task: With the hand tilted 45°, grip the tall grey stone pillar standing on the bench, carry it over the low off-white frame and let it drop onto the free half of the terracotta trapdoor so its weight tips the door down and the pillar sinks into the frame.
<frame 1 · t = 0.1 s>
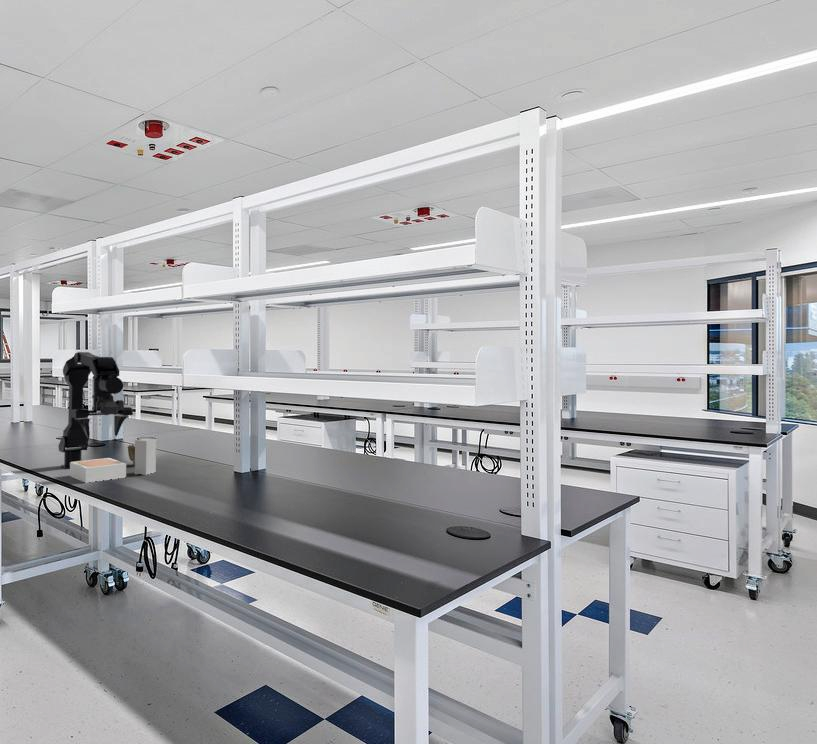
hand: (102, 436, 201), 15 cm above the table, tool pointing down, fingers open, 9 cm apart
trapdoor: (98, 468, 204), point 3 cm above the table, hinge at 0.0°
cup: (137, 465, 226), on the table
trapdoor frame: (97, 476, 204), on the table
stone pillar: (145, 473, 211), on the table
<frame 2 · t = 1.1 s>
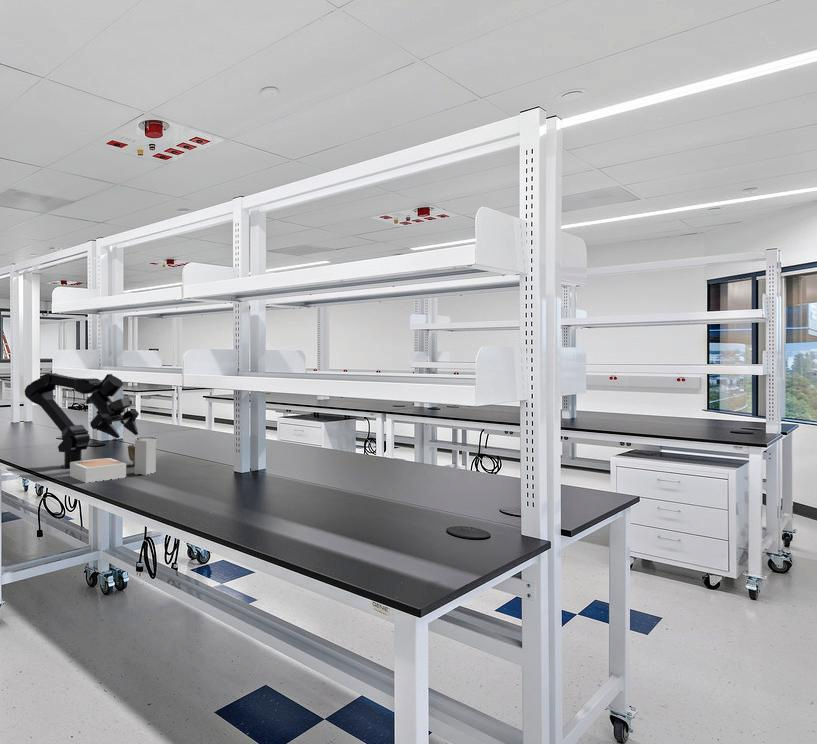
hand: (128, 435, 213), 13 cm above the table, tool tilted 45°, fingers open, 9 cm apart
nothing on the table moved.
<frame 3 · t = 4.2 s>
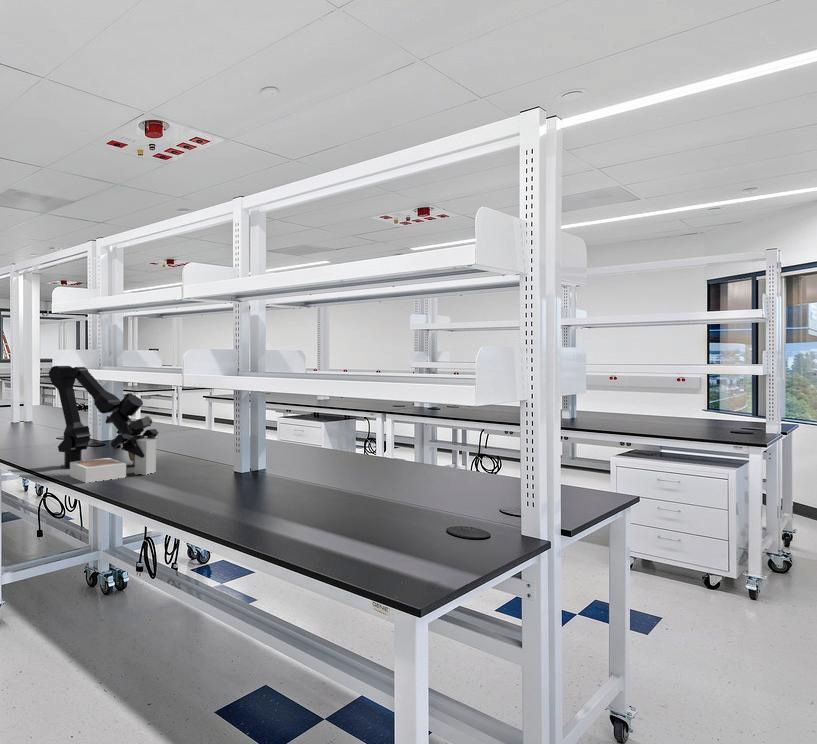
hand: (148, 455, 211), 7 cm above the table, tool tilted 45°, fingers closed on stone pillar, 5 cm apart
stone pillar: (145, 473, 211), on the table, touching gripper
everything else where it was.
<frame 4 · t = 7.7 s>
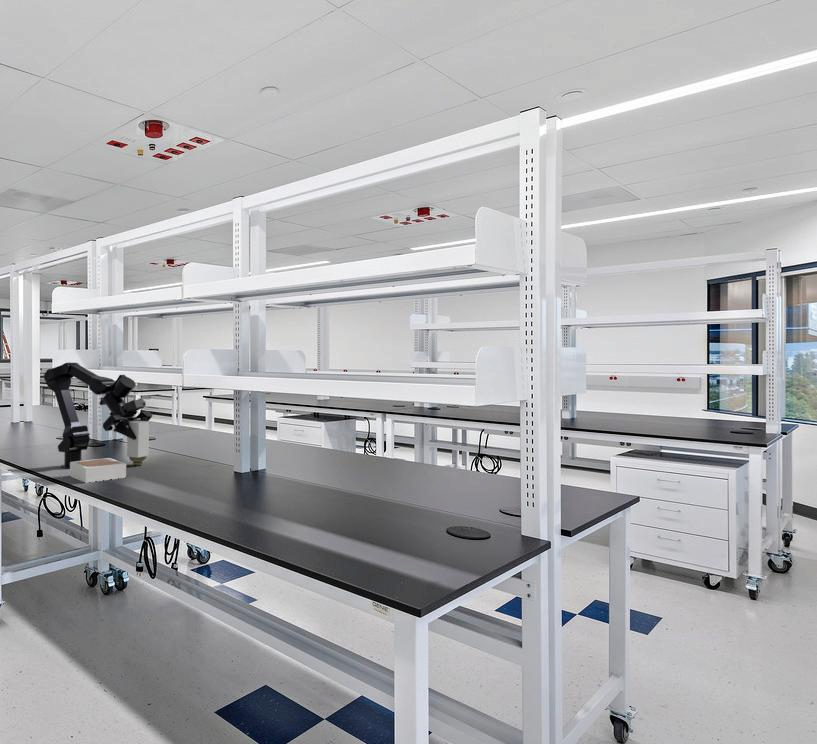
hand: (141, 438, 208), 13 cm above the table, tool tilted 45°, fingers closed on stone pillar, 5 cm apart
stone pillar: (137, 455, 209), point 7 cm above the table, touching gripper
everything else where it was.
when the fingers open (13 cm above the table, at t = 11.0 s): stone pillar drops 2 cm, resting on trapdoor.
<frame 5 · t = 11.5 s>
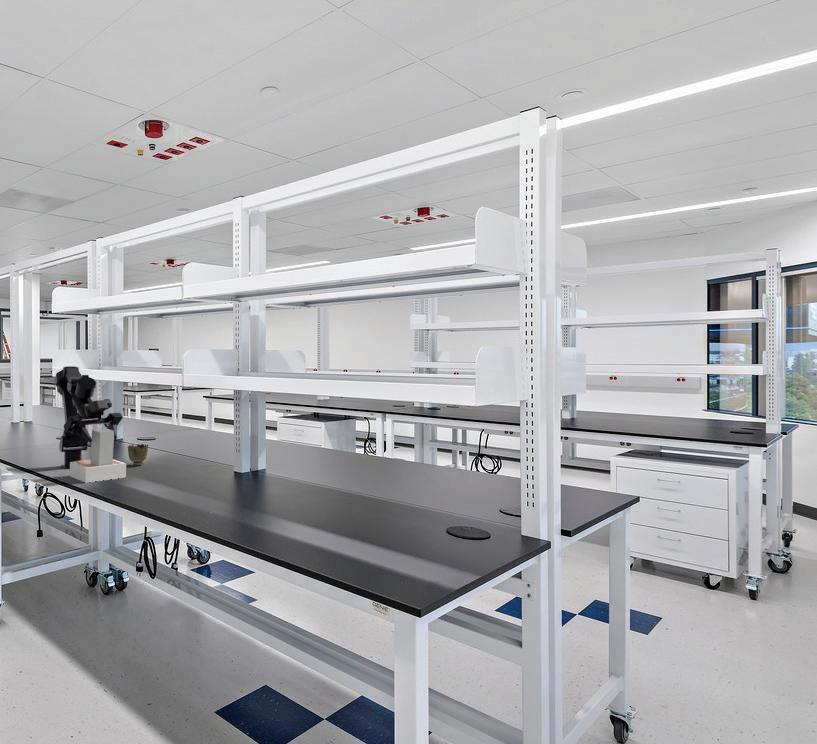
hand: (103, 440, 201), 14 cm above the table, tool tilted 45°, fingers open, 9 cm apart
trapdoor: (97, 468, 204), point 3 cm above the table, hinge at -5.6°, touching stone pillar
stone pillar: (101, 465, 202), point 5 cm above the table, tilted 6°, touching trapdoor
everything else where it was.
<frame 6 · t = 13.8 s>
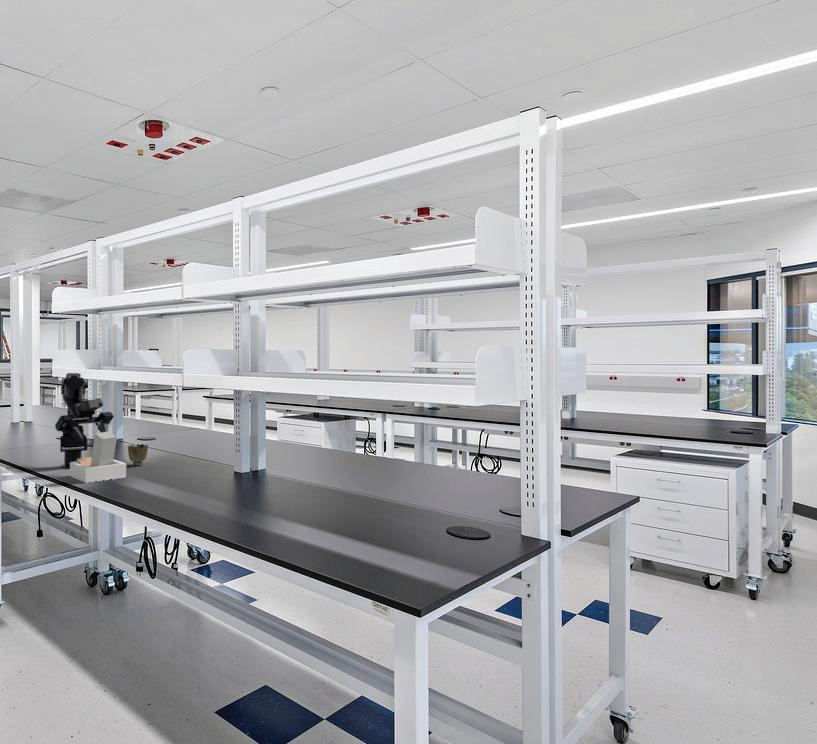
hand: (95, 439, 204), 13 cm above the table, tool tilted 45°, fingers open, 9 cm apart
trapdoor: (97, 469, 204), point 3 cm above the table, hinge at -17.4°, touching stone pillar
stone pillar: (101, 467, 202), point 4 cm above the table, tilted 17°, touching trapdoor, trapdoor frame
everything else where it was.
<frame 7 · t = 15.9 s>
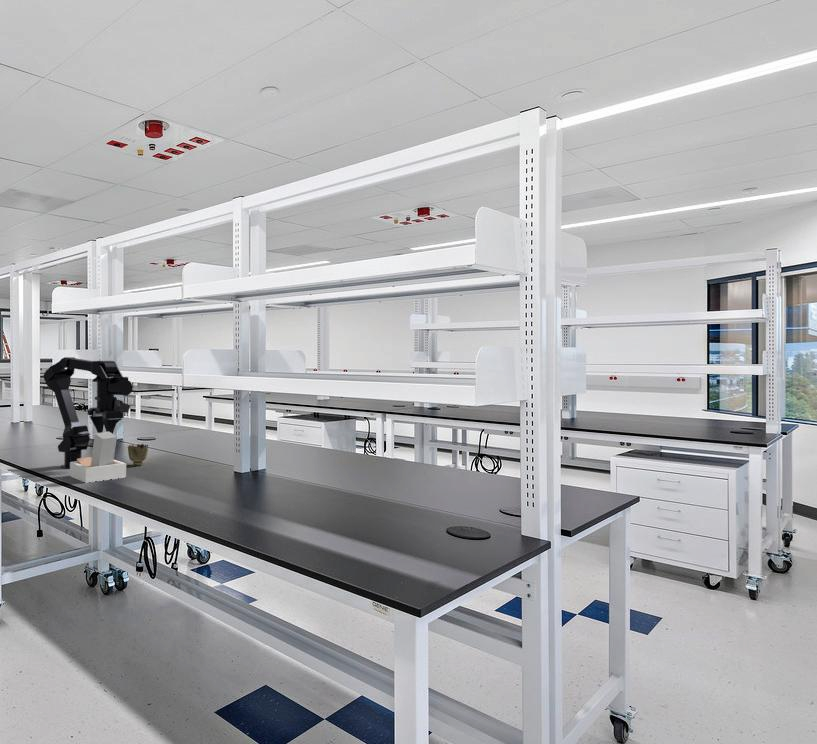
hand: (105, 435, 215), 13 cm above the table, tool pointing down, fingers open, 9 cm apart
nothing on the table moved.
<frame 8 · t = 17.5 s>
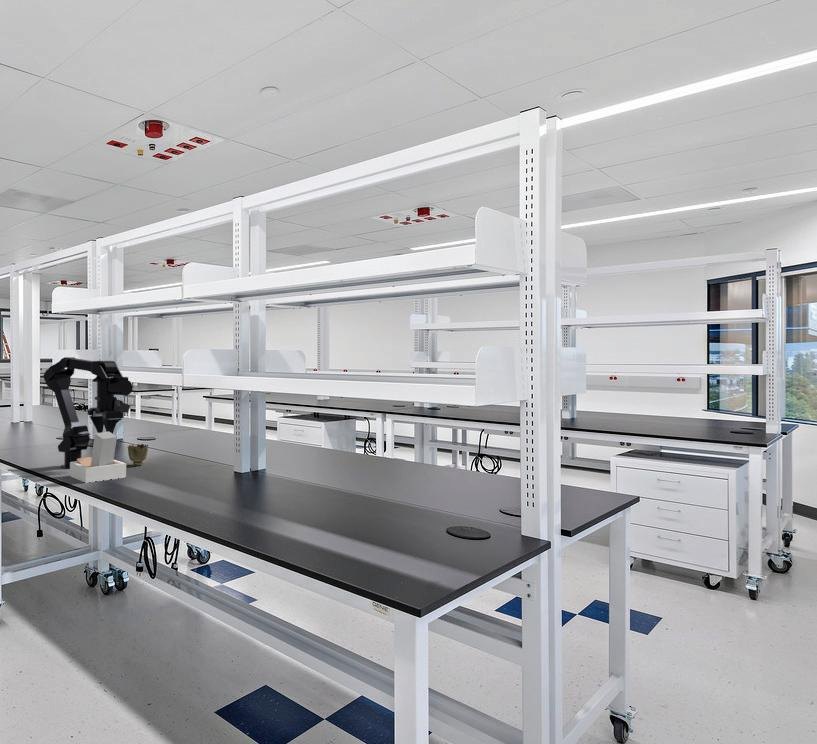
hand: (105, 435, 215), 13 cm above the table, tool pointing down, fingers open, 9 cm apart
nothing on the table moved.
at the end: trapdoor at -18° (first picture: +0°); stone pillar inside the target area on the trapdoor frame (0.9 cm from its centre), point 3.6 cm above the trapdoor frame's base; the gripper is holding nothing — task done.
